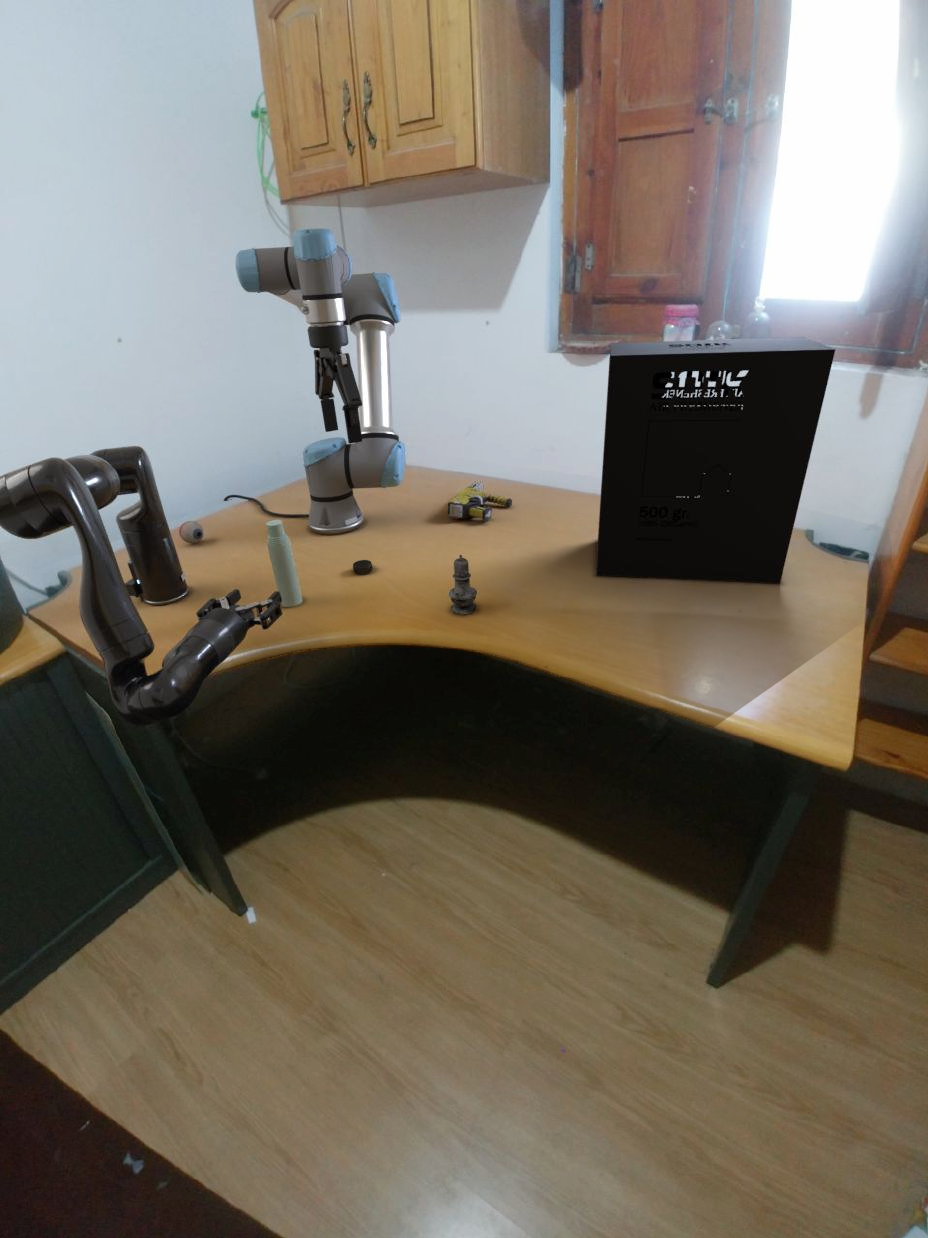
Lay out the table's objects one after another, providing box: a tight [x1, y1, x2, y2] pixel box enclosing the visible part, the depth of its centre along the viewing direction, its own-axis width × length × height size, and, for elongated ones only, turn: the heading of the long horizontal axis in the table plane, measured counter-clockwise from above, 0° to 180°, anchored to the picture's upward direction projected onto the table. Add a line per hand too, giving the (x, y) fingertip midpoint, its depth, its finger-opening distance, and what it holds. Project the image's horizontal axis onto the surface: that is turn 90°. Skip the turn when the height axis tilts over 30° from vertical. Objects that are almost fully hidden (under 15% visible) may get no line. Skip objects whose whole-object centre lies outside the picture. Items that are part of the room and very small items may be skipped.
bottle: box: [265, 519, 303, 608], centre depth 126 cm, size 5×5×18 cm
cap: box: [352, 559, 373, 576], centre depth 142 cm, size 4×4×2 cm
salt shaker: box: [448, 554, 478, 615], centre depth 121 cm, size 6×6×12 cm
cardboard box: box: [595, 336, 836, 584], centre depth 127 cm, size 38×20×45 cm, turn 78°
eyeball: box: [178, 520, 205, 545], centre depth 161 cm, size 6×6×6 cm
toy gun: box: [446, 480, 513, 523], centre depth 174 cm, size 5×24×15 cm
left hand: (258, 594), depth 117 cm, fingers open, 8 cm apart
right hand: (343, 436), depth 127 cm, fingers open, 13 cm apart
